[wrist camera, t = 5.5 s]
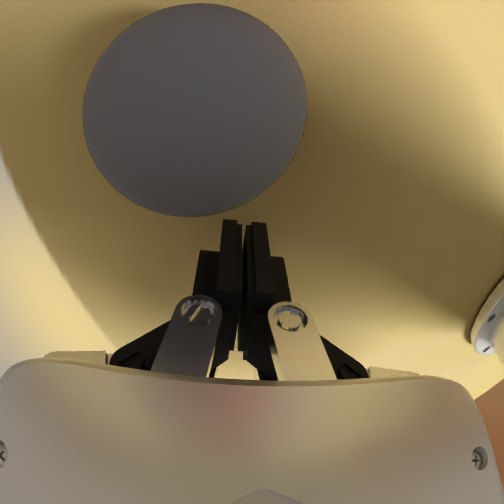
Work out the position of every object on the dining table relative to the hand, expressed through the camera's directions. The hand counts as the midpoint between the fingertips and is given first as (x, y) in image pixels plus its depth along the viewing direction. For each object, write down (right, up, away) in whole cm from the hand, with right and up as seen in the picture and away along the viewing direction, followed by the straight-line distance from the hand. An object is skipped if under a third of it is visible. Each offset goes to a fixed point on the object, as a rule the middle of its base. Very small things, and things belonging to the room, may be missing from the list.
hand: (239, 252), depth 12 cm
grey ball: (-1, +4, -5) cm, 6 cm away
